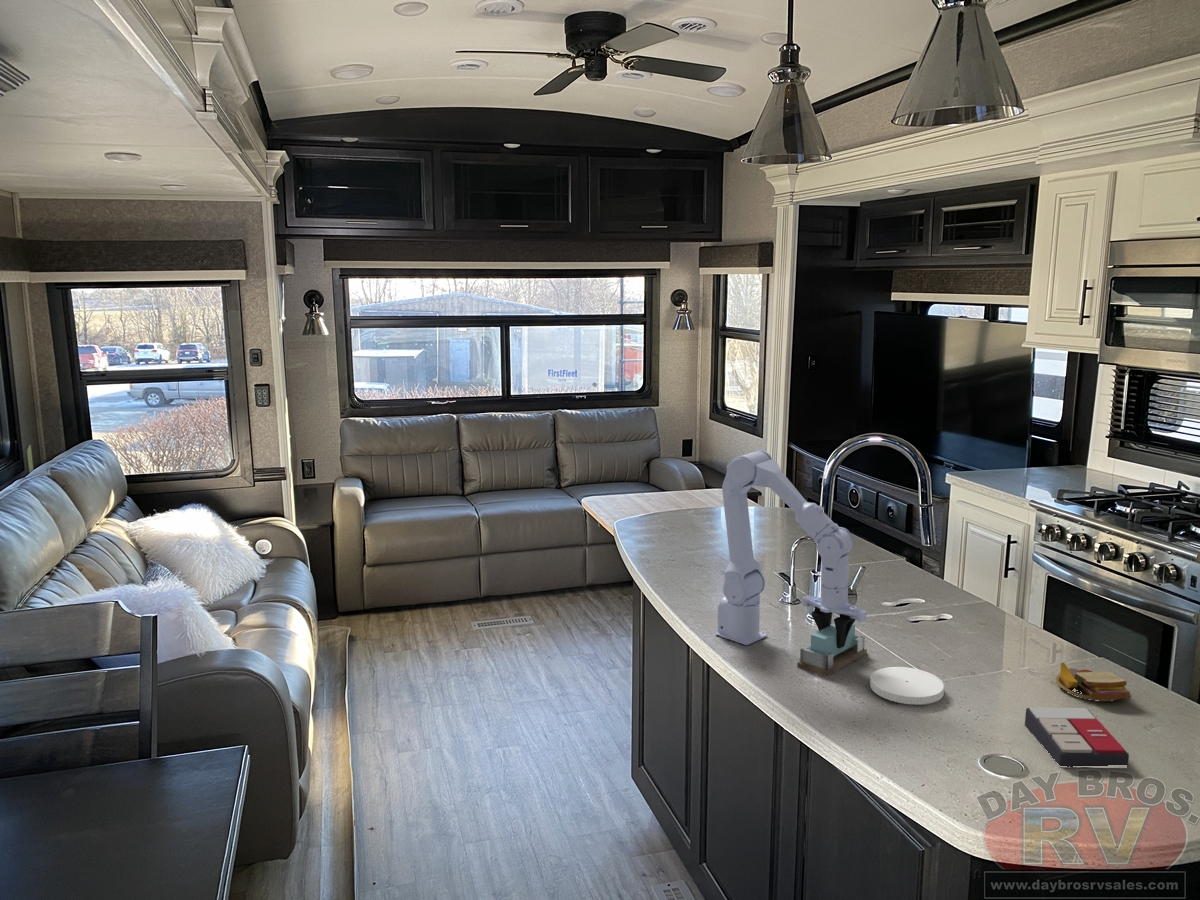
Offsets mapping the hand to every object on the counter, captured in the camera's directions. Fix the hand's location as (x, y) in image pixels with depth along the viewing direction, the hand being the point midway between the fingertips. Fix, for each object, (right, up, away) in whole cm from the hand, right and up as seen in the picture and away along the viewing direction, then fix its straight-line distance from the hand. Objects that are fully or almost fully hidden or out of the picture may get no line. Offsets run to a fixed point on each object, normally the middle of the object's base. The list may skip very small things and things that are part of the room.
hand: (832, 644), depth 192 cm
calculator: (+33, -10, -37) cm, 50 cm away
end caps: (0, -4, +1) cm, 4 cm away
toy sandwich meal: (+48, -6, -16) cm, 51 cm away
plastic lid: (+11, -7, -15) cm, 20 cm away
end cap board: (0, -4, +1) cm, 4 cm away
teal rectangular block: (0, -2, 0) cm, 2 cm away
